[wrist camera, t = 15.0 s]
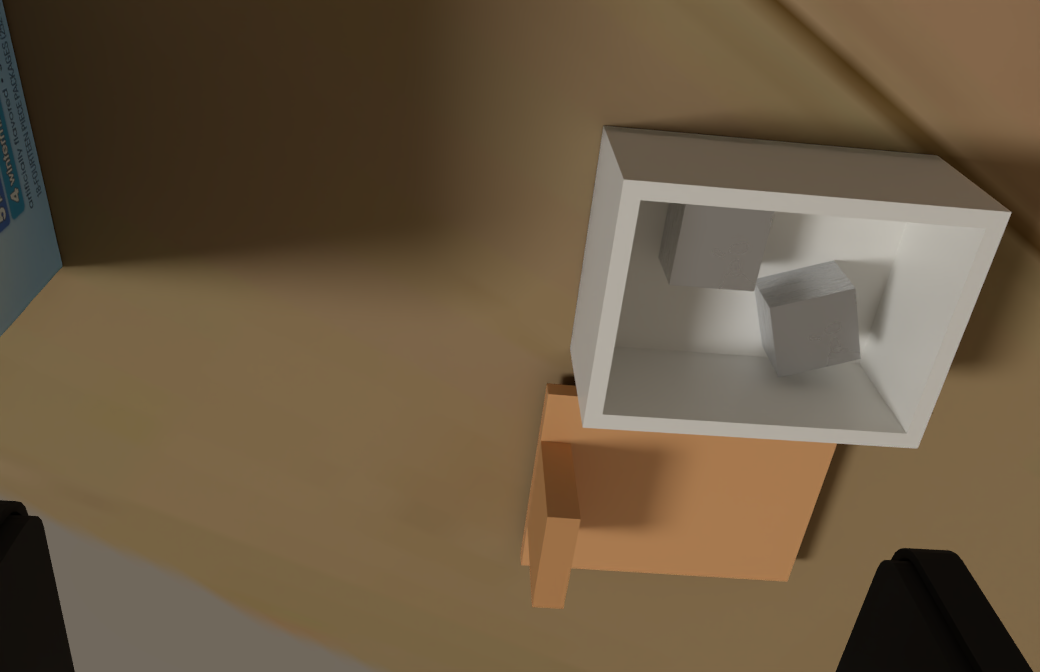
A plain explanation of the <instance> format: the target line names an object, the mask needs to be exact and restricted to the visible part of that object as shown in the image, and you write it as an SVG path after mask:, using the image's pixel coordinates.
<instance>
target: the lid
mask: <svg viewBox="0 0 1040 672" xmlns="http://www.w3.org/2000/svg"><path fill="white" fill-rule="evenodd" d="M836 446H837V443H822V442H806V441H789V440H773V439H757V438H741V437H725V436H709V435H693V434H677V433H661V432H644V431H628V430H612V429H596V428H583V427H582V421H581V414H580V408H579V402H578V395H577V389H576V386H572V385H560V384H547V387H546V393H545V400H544V406H543V413H542V419H541V426H540V432H539V438H538V445H537V451H536V458H535V464H534V470H533V477H532V483H531V490H530V496H529V502H528V509H527V515H526V522H525V528H524V534H523V541H522V547H521V565H528V566H530V580H531V597H532V607H541V608H558V609H563V608H564V602H565V597H566V592H567V587H568V582H569V577H570V572H571V568H576V569H593V570H609V571H625V572H641V573H657V574H674V575H690V576H706V577H722V578H739V579H755V580H771V581H788V578H789V576H790V573H791V570H792V567H793V565H794V562H795V559H796V556H797V554H798V551H799V548H800V545H801V542H802V540H803V537H804V534H805V531H806V529H807V526H808V523H809V520H810V518H811V515H812V512H813V509H814V506H815V504H816V501H817V498H818V495H819V493H820V490H821V487H822V484H823V482H824V479H825V476H826V473H827V470H828V468H829V465H830V462H831V459H832V457H833V454H834V451H835V448H836Z"/></svg>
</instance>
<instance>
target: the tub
mask: <svg viewBox="0 0 1040 672" xmlns="http://www.w3.org/2000/svg"><path fill="white" fill-rule="evenodd" d="M669 203H680V204H692V205H704V206H717V207H729V208H741V209H753V210H765V211H775V212H774V216H773V220H772V224H771V228H770V231H769V235H768V239H767V243H766V247H765V251H764V255H763V259H762V262H761V266H760V270H759V274H758V278H761V277H765V276H770V275H774V274H778V273H782V272H787V271H791V270H795V269H799V268H803V267H808V266H812V265H816V264H820V263H825V262H829V261H833V260H834V261H835V262H836V264H837V265H838V266H839V268H840V269H841V270H842V271H843V273H844V274H845V275H846V277H847V278H848V279H849V280H850V282H851V283H852V284H853V286H854V287H855V289H856V302H857V316H858V330H859V344H860V357H861V359H858V360H854V361H850V362H845V363H841V364H836V365H832V366H827V367H823V368H819V369H814V370H810V371H805V372H801V373H797V374H792V375H788V376H783V377H778V376H777V374H776V372H775V370H774V368H773V366H772V364H771V362H770V360H769V358H768V356H767V354H766V352H765V350H764V349H763V347H762V341H761V333H760V326H759V319H758V311H757V304H756V297H755V290H754V291H741V290H728V289H714V288H701V287H688V286H675V285H669V284H668V281H667V278H666V276H665V273H664V271H663V268H662V265H661V263H660V260H659V258H658V256H659V251H660V246H661V240H662V235H663V230H664V225H665V220H666V215H667V210H668V204H669ZM1011 213H1012V212H1011V211H1009V210H1008V209H1007V208H1006V207H1004V206H1003V205H1002V204H1000V203H999V202H998V201H996V200H995V199H994V198H992V197H991V196H990V195H989V194H987V193H986V192H985V191H983V190H982V189H981V188H979V187H978V186H977V185H975V184H974V183H973V182H972V181H970V180H969V179H968V178H966V177H965V176H964V175H962V174H961V173H960V172H958V171H957V170H956V169H955V168H953V167H952V166H951V165H949V164H948V163H947V162H945V161H944V160H943V159H941V158H940V157H939V156H937V155H928V154H917V153H905V152H894V151H883V150H872V149H861V148H849V147H838V146H827V145H816V144H805V143H793V142H782V141H771V140H760V139H749V138H737V137H726V136H715V135H704V134H692V133H681V132H670V131H659V130H648V129H636V128H625V127H614V126H603V132H602V139H601V146H600V152H599V159H598V166H597V172H596V179H595V186H594V192H593V199H592V206H591V212H590V219H589V226H588V233H587V239H586V246H585V253H584V259H583V266H582V273H581V279H580V286H579V293H578V299H577V306H576V313H575V320H574V326H573V333H572V340H571V346H570V351H571V358H572V364H573V370H574V377H575V383H576V389H577V395H578V402H579V408H580V414H581V421H582V427H583V428H596V429H612V430H628V431H644V432H661V433H677V434H693V435H709V436H725V437H741V438H757V439H773V440H789V441H806V442H822V443H838V444H854V445H870V446H886V447H902V448H918V446H919V444H920V441H921V439H922V436H923V434H924V431H925V429H926V426H927V424H928V421H929V419H930V416H931V414H932V411H933V409H934V406H935V404H936V401H937V399H938V396H939V394H940V391H941V389H942V386H943V384H944V381H945V379H946V376H947V374H948V371H949V369H950V366H951V363H952V361H953V358H954V356H955V353H956V351H957V348H958V346H959V343H960V341H961V338H962V336H963V333H964V331H965V328H966V326H967V323H968V321H969V318H970V316H971V313H972V311H973V308H974V306H975V303H976V301H977V298H978V296H979V293H980V291H981V288H982V286H983V283H984V281H985V278H986V276H987V273H988V271H989V268H990V266H991V263H992V261H993V258H994V256H995V253H996V251H997V248H998V245H999V243H1000V240H1001V238H1002V235H1003V233H1004V230H1005V228H1006V225H1007V223H1008V220H1009V218H1010V215H1011Z"/></svg>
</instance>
